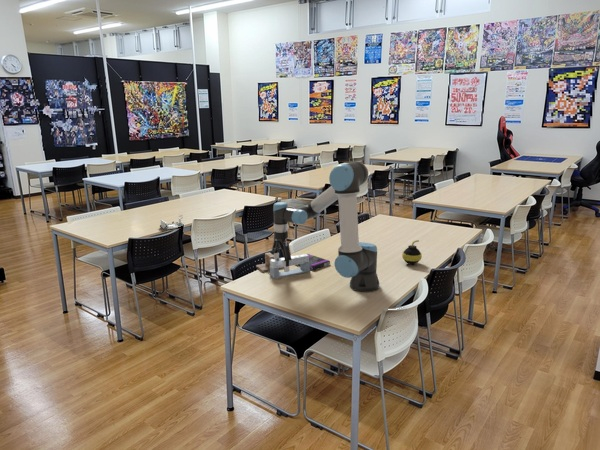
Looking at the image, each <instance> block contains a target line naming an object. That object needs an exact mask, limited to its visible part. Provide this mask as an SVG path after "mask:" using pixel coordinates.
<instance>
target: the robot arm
mask: <svg viewBox="0 0 600 450" xmlns="http://www.w3.org/2000/svg"><path fill="white" fill-rule="evenodd" d="M368 178H369V169H368V167H367V165H365V164H364V163H363V162H360V161H352V162H348V163H347V162H346V163H341V164H338V165H336V166H334V167H333V168H332V169H331V171H330V173H329V177H328V179H329V185H330V186H329V187H328V188H327V189H325V190H324V191H323V192H322V193H320V194H319V195H318V196H316V197H315V198H314V199H312V200H311V201H310V202H309V203H308V204H305V205H303V206H300V207H296V208H295V207H294V208H292V207H289V206H288V203H287V202H285V201H284V202H283V201H279V202H275V203H274V204H273V209H272V210H273V211H272V212H273V243H272V247H271V251H272V252H273V255H274V259H278V258H280V250H281V252H282V254H283V258H284V259H285V260H284V269H283V271H284V272H289V270H290V266H289V260H291V256H292V255H291V250H290V246H289V241H286V239H288V237H289V232H288V231H289V227H288V226H289V223H291V224H297V225H304V224H305V223H306V222H307V220H310V219H314V218H317V217H318V216H319V215H320V214H321V212H322V211H325V210H326V209H327V208H328V207H329V206H331V205H332V204H334V203H335V202H336V201H338V215H339V231H340V246H339V247H338V249H337V250H338V251H337V253H338V254H337V257H336V258H335V259H334V267H335V270H336V272H337V273H338V274H339V275H340V276H341V277H343V278H346V279H348V278H349V279H350V280H349V287H350V289H352V290H354V291H356V292H362V293H370V292H372V293H373V292H375V291H377V290H379V289H380V280H379V277H378V274H377V263H378V260H377V259H378V247H377V245H376V244H374V243H371V242H365V241H364V242H363V241H362V242H360V241H359V239H360V238H359V237H360V236H359V220H358V219H359V218H358V217H359V216H358V215H359V214H358V201H357V200H358V197H357V196H358V194H359V193H360V189H361V188H360V186H362V185H364V184H365V183H366V182H367V180H368Z"/></svg>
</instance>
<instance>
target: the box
mask: <svg viewBox="0 0 600 450" xmlns="http://www.w3.org/2000/svg"><path fill="white" fill-rule="evenodd" d="M306 254H307V255H309V263H310V271H313V272H314V271H317V270H320V269H322V268H325V267H328V266H330V265H331V261H330V260H329V259H326V258H322V257H318V256H316V255H313V254H309V253H306ZM297 266H300V264H298V265H297Z"/></svg>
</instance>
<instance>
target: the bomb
mask: <svg viewBox="0 0 600 450" xmlns="http://www.w3.org/2000/svg"><path fill="white" fill-rule="evenodd" d="M417 242H420V240H419V239H417V240H414V241H412V243H411V245H408V247H407V248H405V250H404V251H403V252H402V254H401V255H402V259H403V260H404V262H405V263H407V265H416V264H418V263H419V262H420V261H421V260H422V257H423V256H422V255H423V254H422V252H421V251H420V250H419V249H418V248H417V245H414V244H415V243H417Z"/></svg>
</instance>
